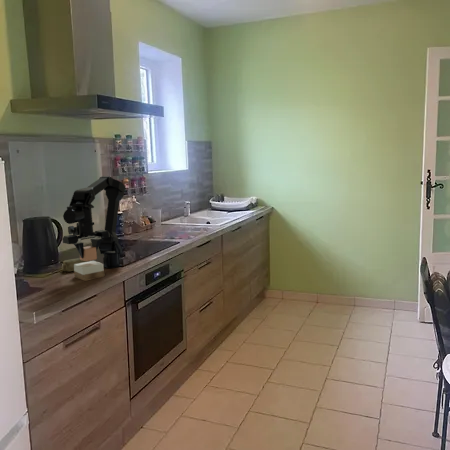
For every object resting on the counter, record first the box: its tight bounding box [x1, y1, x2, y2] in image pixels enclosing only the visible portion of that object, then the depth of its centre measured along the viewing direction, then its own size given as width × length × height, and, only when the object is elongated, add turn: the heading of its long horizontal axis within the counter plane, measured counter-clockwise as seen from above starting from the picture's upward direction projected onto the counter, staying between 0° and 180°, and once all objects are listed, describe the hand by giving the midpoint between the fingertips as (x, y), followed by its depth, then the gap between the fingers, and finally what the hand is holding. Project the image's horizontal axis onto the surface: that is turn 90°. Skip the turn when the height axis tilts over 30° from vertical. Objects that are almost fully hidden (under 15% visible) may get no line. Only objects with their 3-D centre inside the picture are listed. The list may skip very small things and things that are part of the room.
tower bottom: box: [73, 270, 105, 282], centre depth 195 cm, size 9×9×3 cm
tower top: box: [73, 260, 105, 275], centre depth 195 cm, size 9×9×3 cm
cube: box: [79, 245, 98, 261], centre depth 194 cm, size 5×5×5 cm
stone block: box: [62, 257, 89, 273], centre depth 209 cm, size 6×12×5 cm, turn 127°
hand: (88, 257), depth 194 cm, fingers closed on cube, 5 cm apart
